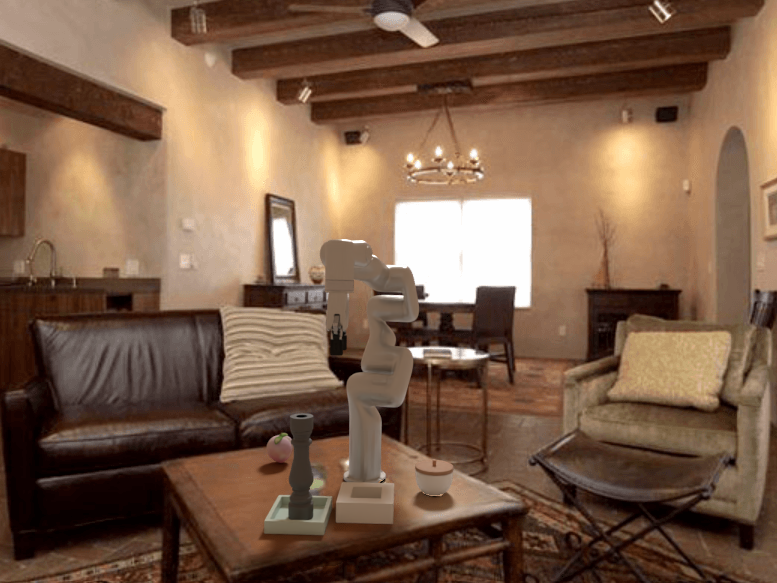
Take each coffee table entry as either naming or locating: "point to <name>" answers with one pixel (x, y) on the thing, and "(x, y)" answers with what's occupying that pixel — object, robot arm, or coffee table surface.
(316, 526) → the parts tray
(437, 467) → the lidded jar
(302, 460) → the candle holder
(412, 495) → the coffee table surface
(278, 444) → the decorative fruit
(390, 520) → the socket block
